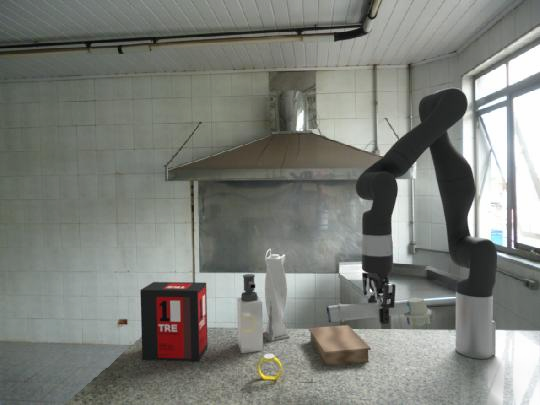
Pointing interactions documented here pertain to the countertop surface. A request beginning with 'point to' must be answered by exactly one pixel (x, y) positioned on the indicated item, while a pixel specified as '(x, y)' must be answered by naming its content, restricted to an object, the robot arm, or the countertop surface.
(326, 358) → the stand
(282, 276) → the skyscraper
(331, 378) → the countertop surface
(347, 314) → the white handheld device
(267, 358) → the watch
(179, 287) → the cleaning product box
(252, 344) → the soap dispenser
